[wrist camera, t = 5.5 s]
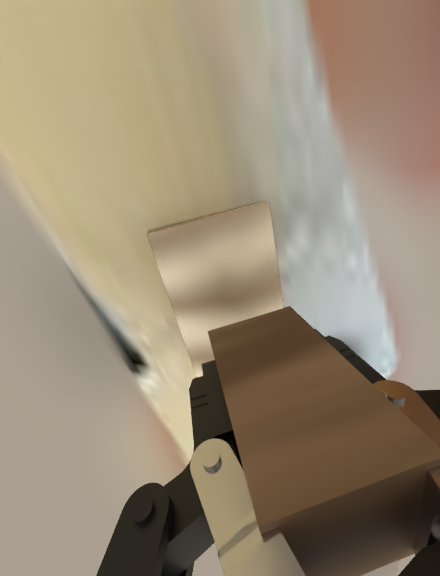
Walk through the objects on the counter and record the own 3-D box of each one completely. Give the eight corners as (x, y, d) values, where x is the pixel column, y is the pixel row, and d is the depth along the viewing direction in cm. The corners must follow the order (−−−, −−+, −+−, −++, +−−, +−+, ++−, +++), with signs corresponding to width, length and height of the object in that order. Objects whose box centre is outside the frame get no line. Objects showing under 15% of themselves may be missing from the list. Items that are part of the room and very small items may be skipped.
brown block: (196, 334, 11) (232, 536, 4) (299, 303, 11) (469, 446, 5) (242, 477, 15) (294, 685, 9) (315, 450, 16) (417, 630, 9)
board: (147, 231, 20) (146, 234, 18) (263, 201, 20) (269, 202, 19) (219, 437, 30) (221, 446, 29) (294, 411, 31) (298, 420, 30)
